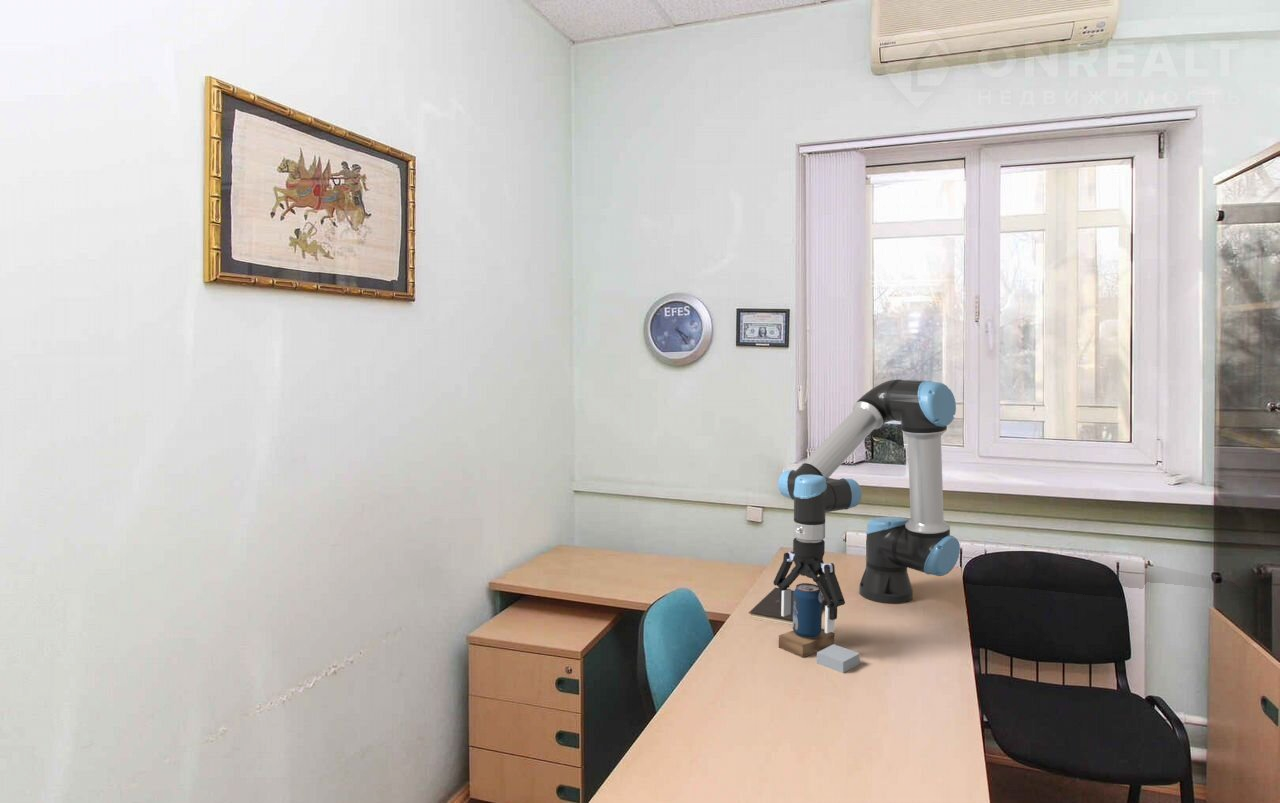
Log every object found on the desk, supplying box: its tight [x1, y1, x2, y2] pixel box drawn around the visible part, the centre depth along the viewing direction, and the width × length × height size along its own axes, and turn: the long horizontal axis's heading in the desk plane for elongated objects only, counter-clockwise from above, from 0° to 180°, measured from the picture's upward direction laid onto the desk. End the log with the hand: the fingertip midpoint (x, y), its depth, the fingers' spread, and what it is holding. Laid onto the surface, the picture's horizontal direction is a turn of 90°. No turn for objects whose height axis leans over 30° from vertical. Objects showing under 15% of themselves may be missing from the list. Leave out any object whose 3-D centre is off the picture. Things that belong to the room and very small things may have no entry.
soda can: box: [792, 582, 823, 639], centre depth 183 cm, size 7×7×12 cm
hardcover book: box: [748, 586, 828, 627], centre depth 209 cm, size 16×23×2 cm
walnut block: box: [778, 627, 835, 658], centre depth 184 cm, size 12×8×3 cm, turn 128°
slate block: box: [816, 643, 861, 674], centre depth 174 cm, size 7×7×3 cm
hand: (807, 623), depth 183 cm, fingers open, 13 cm apart
